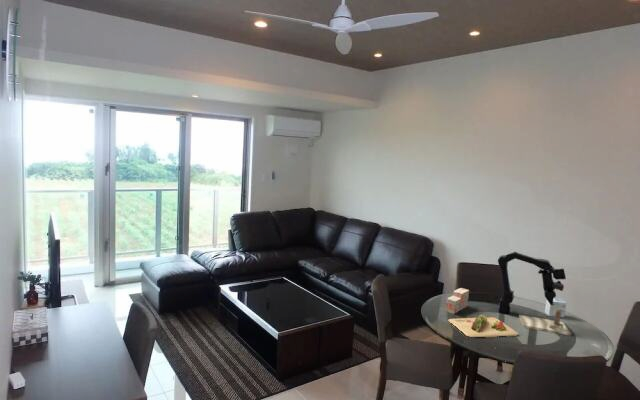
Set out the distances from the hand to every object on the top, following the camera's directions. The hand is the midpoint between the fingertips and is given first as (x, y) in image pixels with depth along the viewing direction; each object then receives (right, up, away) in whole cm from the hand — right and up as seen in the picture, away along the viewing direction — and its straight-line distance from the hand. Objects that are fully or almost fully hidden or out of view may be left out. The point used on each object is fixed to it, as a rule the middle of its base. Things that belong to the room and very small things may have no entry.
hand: (551, 302), depth 254 cm
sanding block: (-3, -14, -10) cm, 17 cm away
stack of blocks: (-57, -9, +15) cm, 59 cm away
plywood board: (-7, -14, -4) cm, 16 cm away
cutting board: (-51, -13, -13) cm, 54 cm away
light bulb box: (+11, -13, +15) cm, 23 cm away
